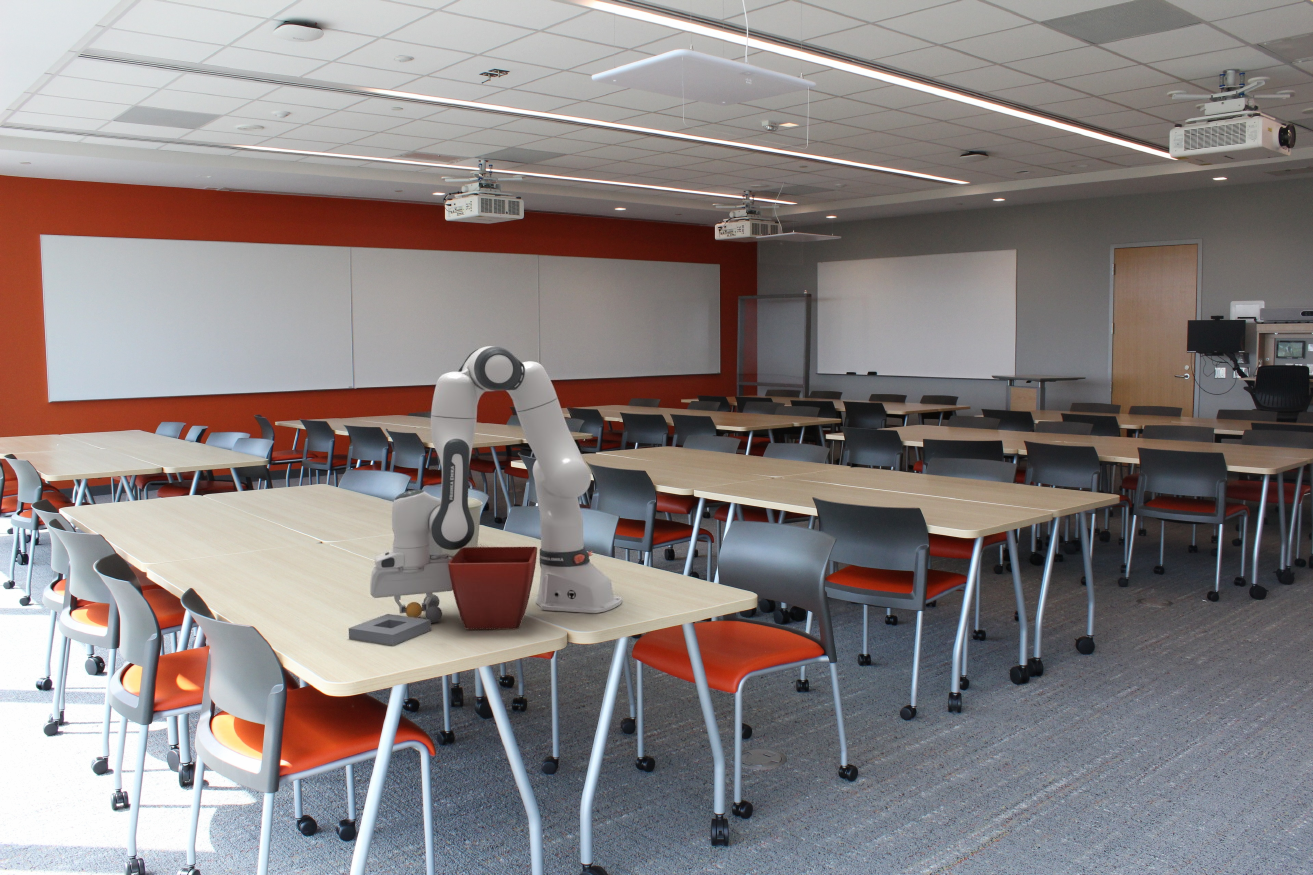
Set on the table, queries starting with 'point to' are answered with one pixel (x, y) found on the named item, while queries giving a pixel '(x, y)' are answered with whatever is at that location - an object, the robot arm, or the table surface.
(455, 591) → the plant pot
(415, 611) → the orange ball
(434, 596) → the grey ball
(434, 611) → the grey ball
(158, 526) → the table surface
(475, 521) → the canister
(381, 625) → the grey square frame
